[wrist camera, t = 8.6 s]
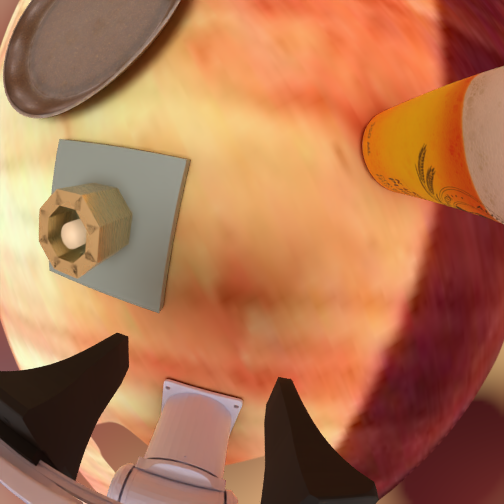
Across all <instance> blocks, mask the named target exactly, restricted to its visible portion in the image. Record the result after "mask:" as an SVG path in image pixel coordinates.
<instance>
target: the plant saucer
mask: <svg viewBox="0 0 504 504" xmlns="http://www.w3.org/2000/svg"><path fill="white" fill-rule="evenodd" d="M180 1H181V0H32V1H31V2H30V3H29V5H28V6H27V8H26V9H25V11H24V12H23V14H22V16H21V17H20V19H19V21H18V23H17V25H16V27H15V29H14V31H13V33H12V36H11V39H10V41H9V44H8V48H7V51H6V56H5V61H4V69H3V82H4V88H5V93H6V96H7V98H8V101H9V102H10V104H11V105H12V107H13V108H14V109H15V110H16V111H17V112H19V113H20V114H22V115H24V116H27V117H31V118H46V117H51V116H55V115H58V114H61V113H63V112H66V111H68V110H70V109H72V108H74V107H76V106H77V105H79V104H81V103H83V102H84V101H86V100H88V99H89V98H91V97H92V96H94V95H95V94H97V93H98V92H100V91H101V90H102V89H104V88H105V87H106V86H108V85H109V84H110V83H112V82H113V81H114V80H115V79H116V78H118V77H119V76H120V75H121V74H122V73H123V72H125V71H126V70H127V69H128V68H129V67H130V66H131V65H132V64H133V63H134V62H135V61H136V60H137V59H138V58H139V57H140V56H141V55H142V54H143V53H144V52H145V51H146V50H147V49H148V48H149V46H150V45H151V44H152V43H153V42H154V40H155V39H156V38H157V37H158V35H159V34H160V33H161V31H162V30H163V29H164V27H165V26H166V24H167V23H168V22H169V20H170V19H171V17H172V15H173V14H174V12H175V10H176V9H177V7H178V5H179V3H180Z"/></svg>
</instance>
